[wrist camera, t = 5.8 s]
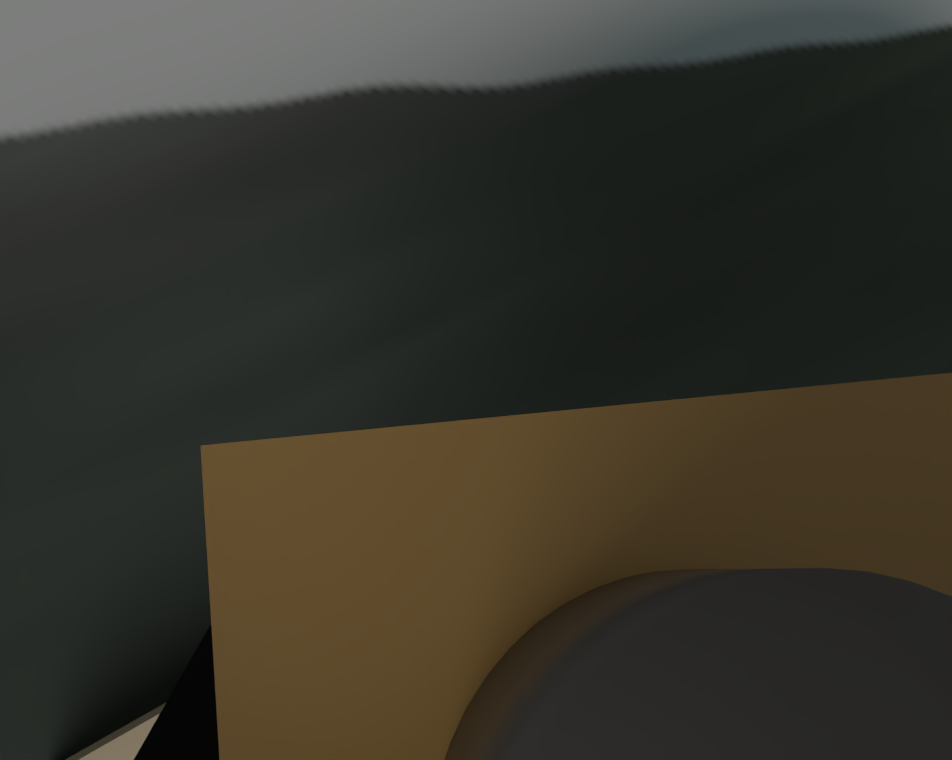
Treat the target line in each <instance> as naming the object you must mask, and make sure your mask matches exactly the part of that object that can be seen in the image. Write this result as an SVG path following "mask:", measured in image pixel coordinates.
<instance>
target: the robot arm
mask: <svg viewBox="0 0 952 760" xmlns="http://www.w3.org/2000/svg"><path fill="white" fill-rule="evenodd" d="M134 760H219V743H218V727H217V710H216V693H215V677H214V660H213V643H212V627H211V625H210V627H209V629H208V630H207V632H206V634H205V636H204V637H203V639H202V641H201V643H200V644H199V646H198V648H197V650H196V651H195V653H194V655H193V657H192V658H191V660H190V662H189V664H188V665H187V667H186V669H185V671H184V672H183V674H182V676H181V678H180V679H179V681H178V683H177V685H176V686H175V688H174V690H173V692H172V693H171V695H170V697H169V699H168V700H167V702H166V704H165V706H164V707H163V709H162V711H161V713H160V714H159V716H158V718H157V720H156V721H155V723H154V725H153V727H152V728H151V730H150V732H149V734H148V735H147V737H146V739H145V741H144V743H143V744H142V746H141V748H140V750H139V751H138V753H137V755H136V757H135V758H134Z"/></svg>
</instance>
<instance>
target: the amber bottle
mask: <svg viewBox="0 0 952 760" xmlns="http://www.w3.org/2000/svg"><path fill="white" fill-rule="evenodd" d="M201 460H202V476H203V493H204V510H205V527H206V543H207V560H208V577H209V593H210V610H211V627H212V643H213V660H214V677H215V693H216V710H217V727H218V743H219V760H952V373H944V374H934V375H923V376H913V377H903V378H892V379H882V380H872V381H862V382H851V383H841V384H831V385H820V386H810V387H800V388H789V389H779V390H769V391H759V392H748V393H738V394H728V395H717V396H707V397H697V398H686V399H676V400H666V401H655V402H645V403H635V404H625V405H614V406H604V407H594V408H583V409H573V410H563V411H552V412H542V413H532V414H522V415H511V416H501V417H491V418H480V419H470V420H460V421H449V422H439V423H429V424H419V425H408V426H398V427H388V428H377V429H367V430H357V431H346V432H336V433H326V434H316V435H305V436H295V437H285V438H274V439H264V440H254V441H243V442H233V443H223V444H212V445H202V446H201Z"/></svg>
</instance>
